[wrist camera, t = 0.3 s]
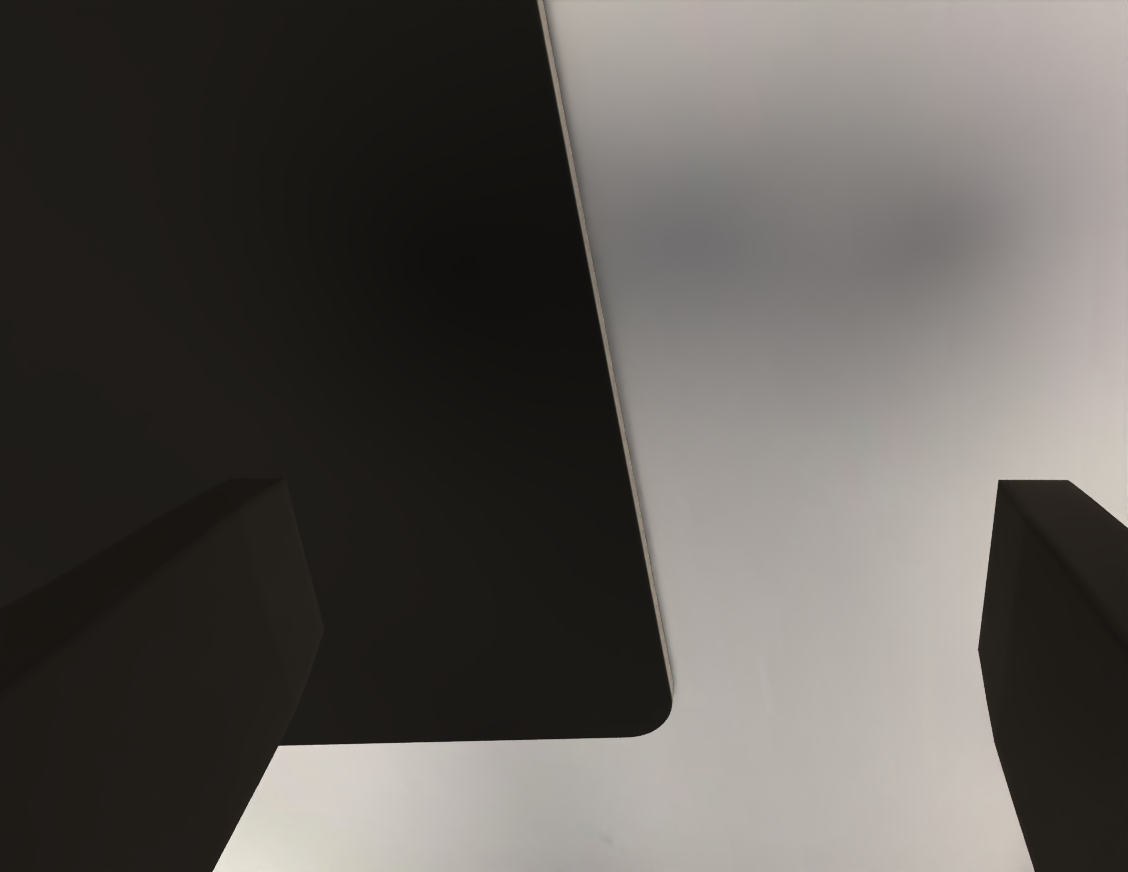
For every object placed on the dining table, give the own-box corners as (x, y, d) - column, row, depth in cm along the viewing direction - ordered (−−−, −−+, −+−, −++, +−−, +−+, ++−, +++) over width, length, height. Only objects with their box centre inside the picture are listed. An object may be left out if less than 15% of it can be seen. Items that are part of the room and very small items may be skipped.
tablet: (-818, -475, 17) (347, -983, 12) (-764, -465, 17) (366, -946, 13) (-35, 753, 29) (679, 736, 25) (-20, 734, 30) (681, 715, 25)
